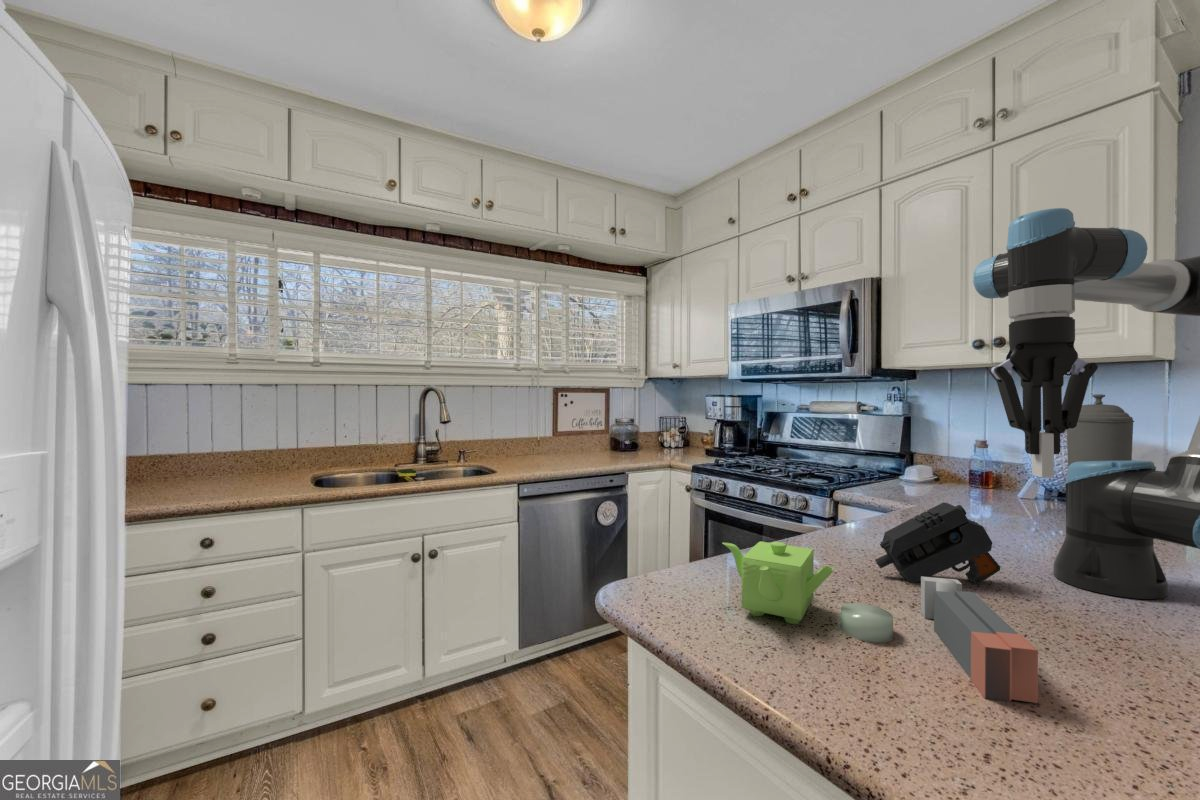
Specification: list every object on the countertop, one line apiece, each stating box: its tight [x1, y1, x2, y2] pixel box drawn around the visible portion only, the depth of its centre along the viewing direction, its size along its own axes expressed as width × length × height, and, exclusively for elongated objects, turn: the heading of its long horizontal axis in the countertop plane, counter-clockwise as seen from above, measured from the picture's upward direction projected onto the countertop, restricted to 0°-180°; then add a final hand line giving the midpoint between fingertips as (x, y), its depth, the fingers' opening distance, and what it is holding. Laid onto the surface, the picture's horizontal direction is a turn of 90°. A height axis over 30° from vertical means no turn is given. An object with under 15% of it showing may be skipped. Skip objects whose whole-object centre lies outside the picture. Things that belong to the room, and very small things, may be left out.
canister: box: [1066, 393, 1135, 467], centre depth 133 cm, size 13×13×35 cm
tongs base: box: [920, 576, 1012, 703], centre depth 72 cm, size 24×5×7 cm, turn 164°
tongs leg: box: [955, 590, 1039, 704], centre depth 68 cm, size 18×3×6 cm, turn 163°
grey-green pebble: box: [840, 602, 894, 644], centre depth 78 cm, size 7×7×3 cm
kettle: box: [721, 541, 835, 625], centre depth 85 cm, size 15×14×11 cm
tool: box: [874, 501, 1001, 586], centre depth 99 cm, size 6×19×15 cm, turn 78°
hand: (1042, 475), depth 77 cm, fingers closed
